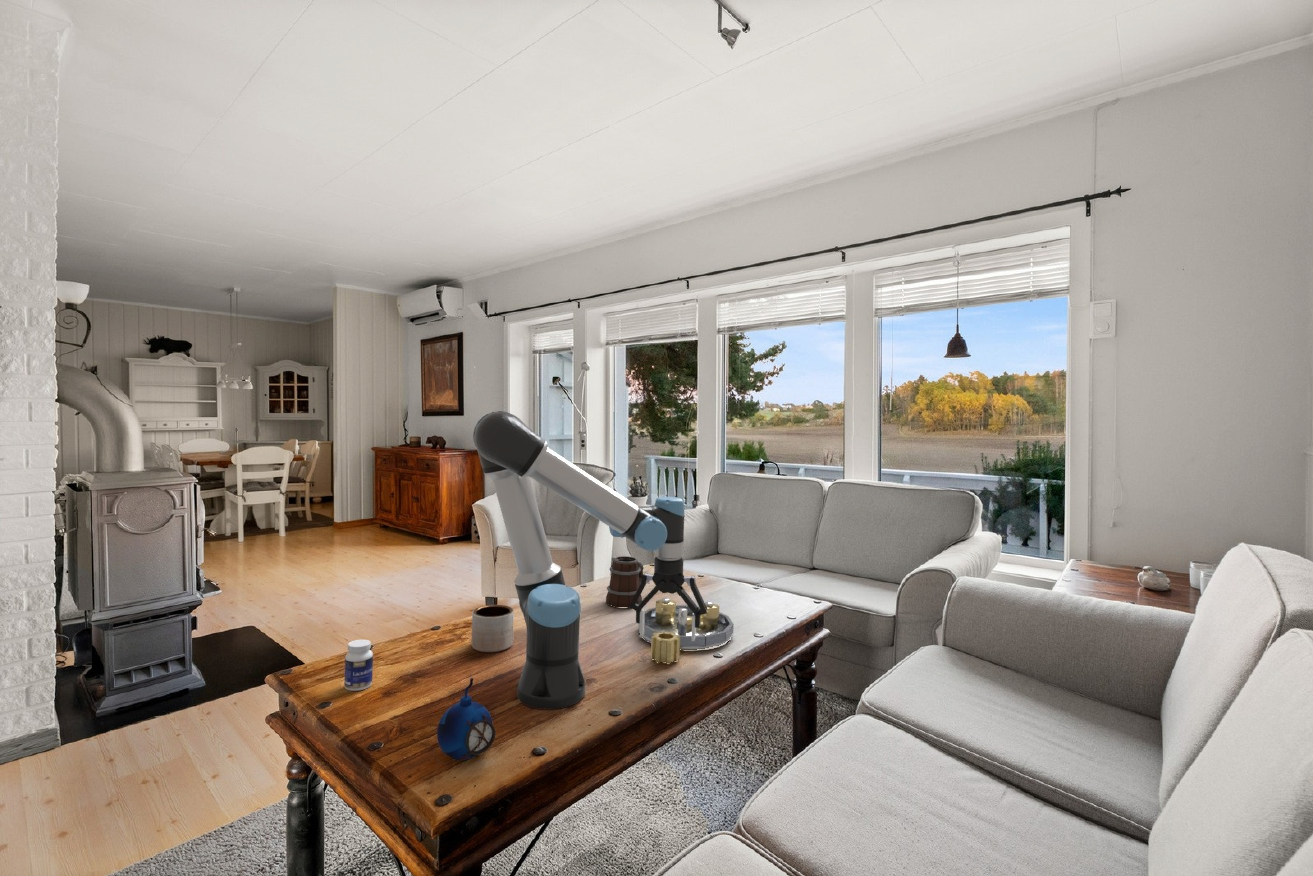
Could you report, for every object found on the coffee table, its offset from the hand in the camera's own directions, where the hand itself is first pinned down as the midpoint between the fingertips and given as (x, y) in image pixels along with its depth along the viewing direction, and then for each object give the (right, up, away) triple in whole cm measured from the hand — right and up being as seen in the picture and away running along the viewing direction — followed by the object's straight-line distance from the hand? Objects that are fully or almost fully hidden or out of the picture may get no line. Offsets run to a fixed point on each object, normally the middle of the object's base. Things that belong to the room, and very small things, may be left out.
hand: (667, 637), depth 161 cm
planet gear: (-1, -6, 0) cm, 6 cm away
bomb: (-38, -7, -48) cm, 62 cm away
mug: (-13, -3, +47) cm, 49 cm away
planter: (-47, -4, +5) cm, 47 cm away
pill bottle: (-70, -4, -22) cm, 74 cm away
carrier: (+5, -5, +19) cm, 20 cm away
